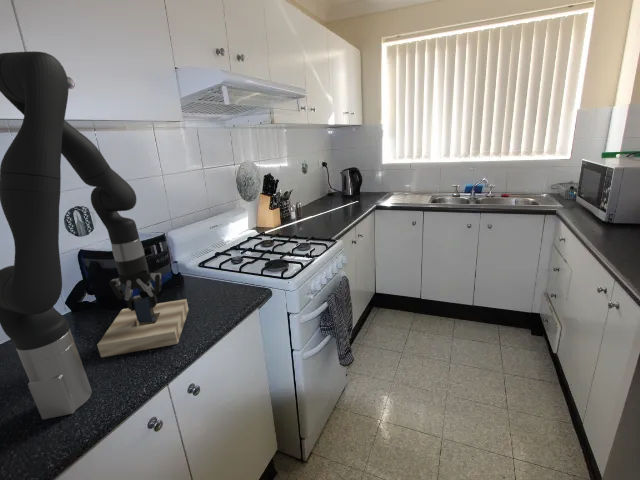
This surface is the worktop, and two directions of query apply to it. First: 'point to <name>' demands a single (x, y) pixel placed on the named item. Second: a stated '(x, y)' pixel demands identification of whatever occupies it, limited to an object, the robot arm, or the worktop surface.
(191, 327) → the worktop surface
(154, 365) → the worktop surface
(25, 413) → the worktop surface
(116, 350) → the socket dock
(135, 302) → the vaping device
